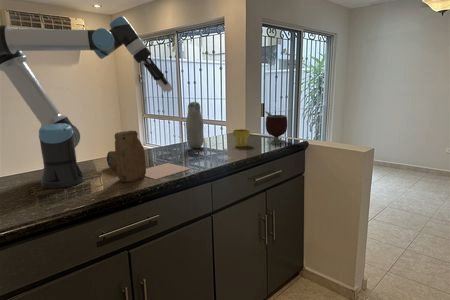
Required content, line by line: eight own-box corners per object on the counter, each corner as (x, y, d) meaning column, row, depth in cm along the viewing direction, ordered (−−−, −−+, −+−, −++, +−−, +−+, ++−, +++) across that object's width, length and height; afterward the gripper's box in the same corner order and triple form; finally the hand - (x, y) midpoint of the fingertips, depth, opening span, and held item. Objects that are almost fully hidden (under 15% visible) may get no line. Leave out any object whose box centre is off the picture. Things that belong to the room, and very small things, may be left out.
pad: (155, 179, 123) (155, 179, 123) (132, 172, 134) (132, 172, 134) (191, 168, 138) (191, 168, 138) (167, 163, 149) (167, 163, 149)
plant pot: (250, 147, 184) (250, 131, 182) (233, 147, 184) (232, 131, 182) (249, 144, 194) (248, 128, 192) (232, 144, 194) (232, 129, 192)
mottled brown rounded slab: (107, 167, 145) (105, 150, 144) (113, 166, 148) (111, 149, 146) (124, 172, 136) (122, 154, 134) (130, 171, 138) (128, 152, 136)
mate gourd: (290, 141, 198) (291, 110, 194) (280, 144, 188) (281, 112, 184) (270, 139, 208) (270, 110, 204) (259, 142, 197) (259, 111, 193)
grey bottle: (184, 149, 183) (181, 102, 177) (192, 146, 192) (190, 101, 186) (199, 150, 179) (196, 102, 173) (206, 146, 188) (204, 101, 182)
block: (123, 184, 119) (118, 133, 115) (116, 179, 125) (111, 131, 120) (148, 178, 125) (144, 130, 121) (141, 174, 131) (137, 128, 127)
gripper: (148, 42, 123) (179, 85, 131) (144, 49, 147) (171, 86, 154) (133, 52, 122) (165, 95, 129) (131, 58, 145) (159, 95, 153)
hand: (168, 90), depth 142 cm, fingers open, 13 cm apart
